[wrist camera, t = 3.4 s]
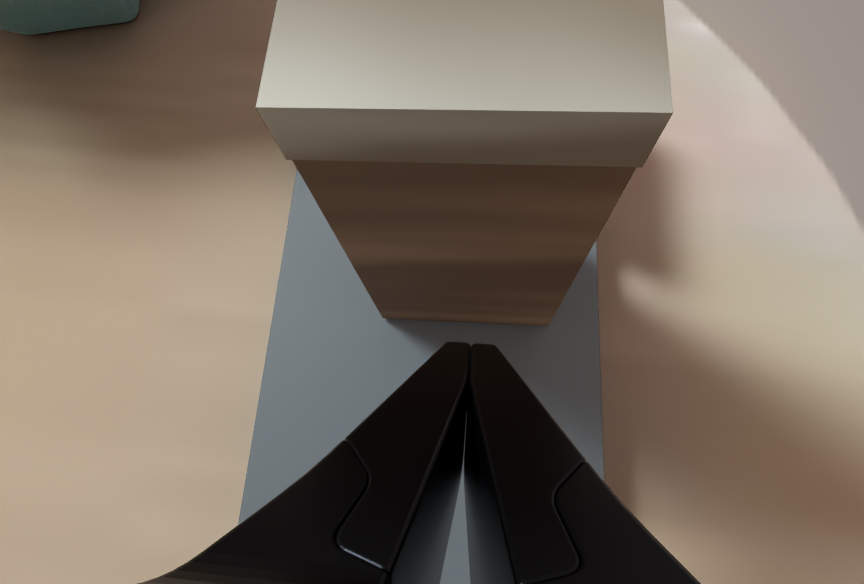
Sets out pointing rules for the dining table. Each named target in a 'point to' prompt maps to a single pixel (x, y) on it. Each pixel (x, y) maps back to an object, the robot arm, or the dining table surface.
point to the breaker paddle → (467, 139)
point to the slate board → (395, 365)
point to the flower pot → (63, 14)
